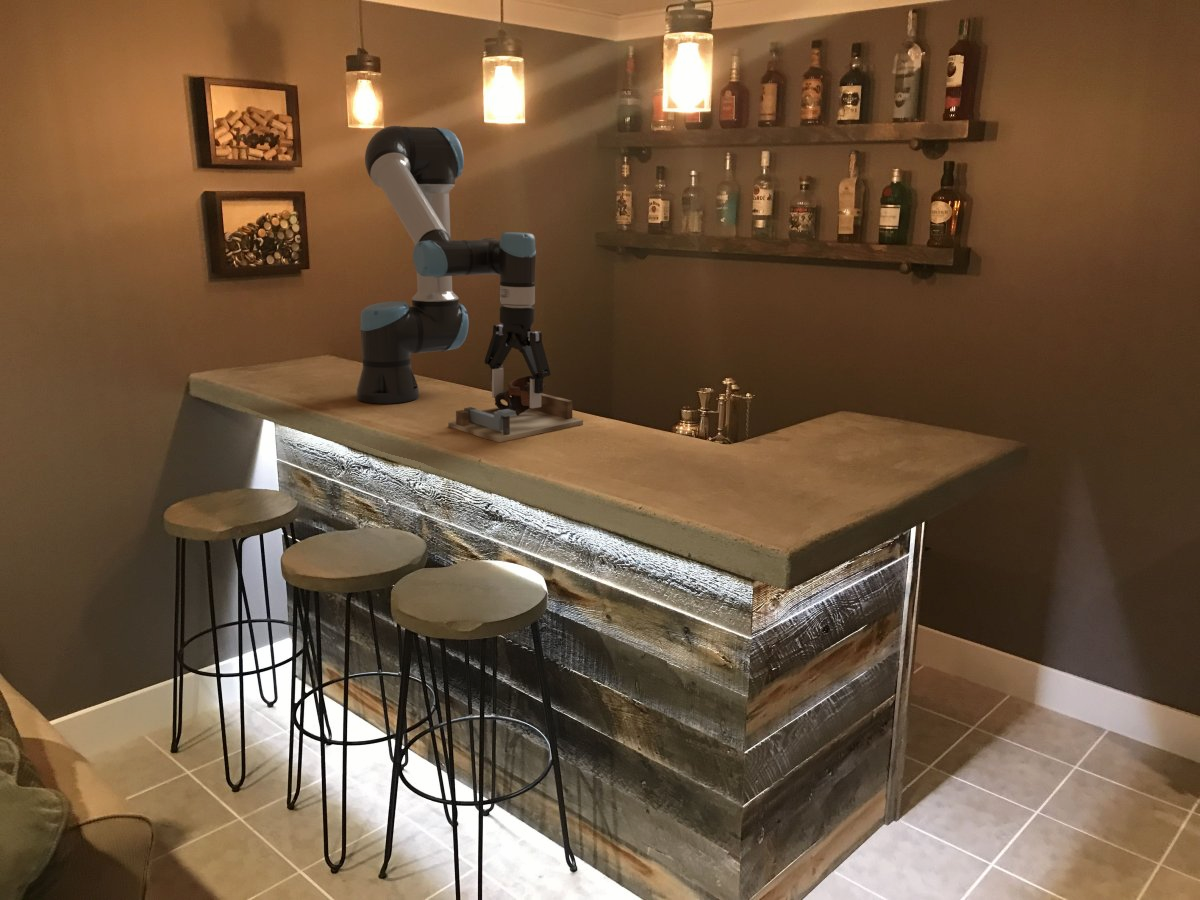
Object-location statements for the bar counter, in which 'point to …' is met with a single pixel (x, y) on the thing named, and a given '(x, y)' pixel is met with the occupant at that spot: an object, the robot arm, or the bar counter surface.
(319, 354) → the bar counter surface
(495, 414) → the leg
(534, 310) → the robot arm
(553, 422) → the board
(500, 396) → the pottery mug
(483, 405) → the bar counter surface
